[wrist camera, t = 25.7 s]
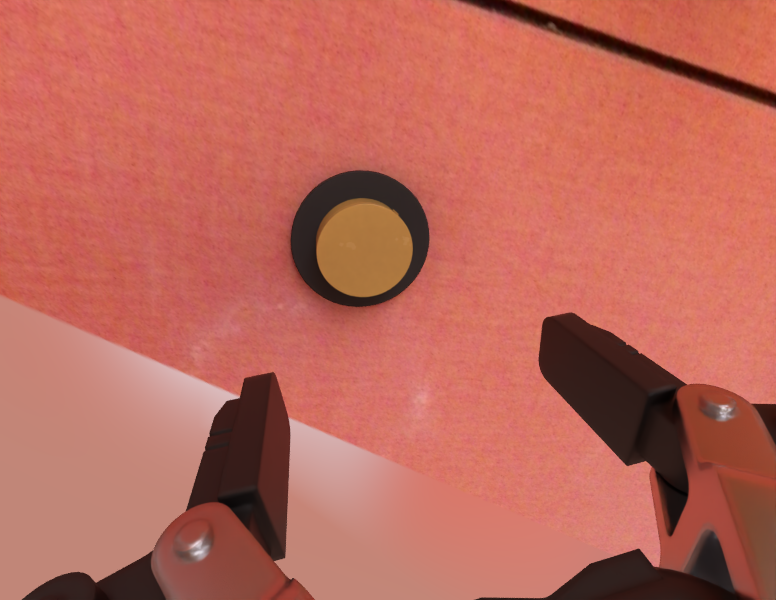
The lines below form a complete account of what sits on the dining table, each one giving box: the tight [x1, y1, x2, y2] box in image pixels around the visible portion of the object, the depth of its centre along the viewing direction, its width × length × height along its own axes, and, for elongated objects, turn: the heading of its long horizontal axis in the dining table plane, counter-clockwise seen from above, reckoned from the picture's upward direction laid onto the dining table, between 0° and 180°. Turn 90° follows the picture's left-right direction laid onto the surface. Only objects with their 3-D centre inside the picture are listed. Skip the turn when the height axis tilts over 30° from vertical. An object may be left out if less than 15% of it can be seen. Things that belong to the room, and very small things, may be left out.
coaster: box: [291, 171, 429, 307], centre depth 24 cm, size 9×9×1 cm
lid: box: [316, 198, 413, 297], centre depth 23 cm, size 6×6×2 cm
